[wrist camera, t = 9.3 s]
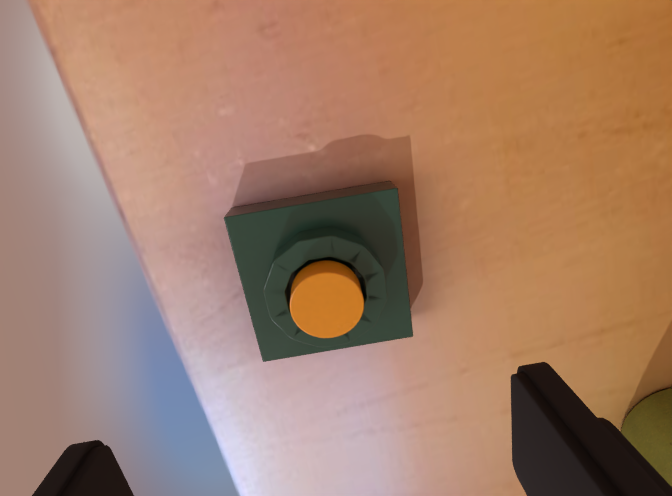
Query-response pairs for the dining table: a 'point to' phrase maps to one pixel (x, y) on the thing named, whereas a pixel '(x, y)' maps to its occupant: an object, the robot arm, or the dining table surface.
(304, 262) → the switch box
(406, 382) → the dining table surface
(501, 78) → the dining table surface
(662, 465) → the flower pot
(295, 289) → the button
